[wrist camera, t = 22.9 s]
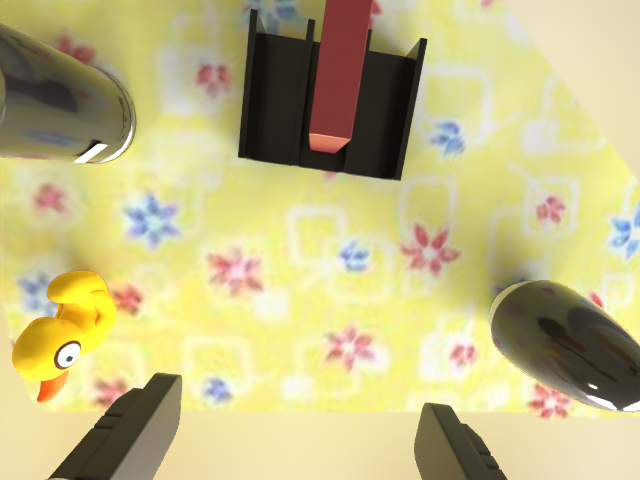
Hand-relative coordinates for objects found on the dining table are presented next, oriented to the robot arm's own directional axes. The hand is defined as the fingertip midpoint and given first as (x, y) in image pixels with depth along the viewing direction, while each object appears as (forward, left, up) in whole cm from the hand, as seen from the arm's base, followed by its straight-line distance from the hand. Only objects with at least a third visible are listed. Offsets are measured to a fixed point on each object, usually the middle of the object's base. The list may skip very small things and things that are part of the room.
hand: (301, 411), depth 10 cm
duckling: (-23, -11, -26) cm, 37 cm away
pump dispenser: (+26, -5, -26) cm, 37 cm away
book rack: (0, +14, -26) cm, 30 cm away
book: (0, +14, -25) cm, 29 cm away
